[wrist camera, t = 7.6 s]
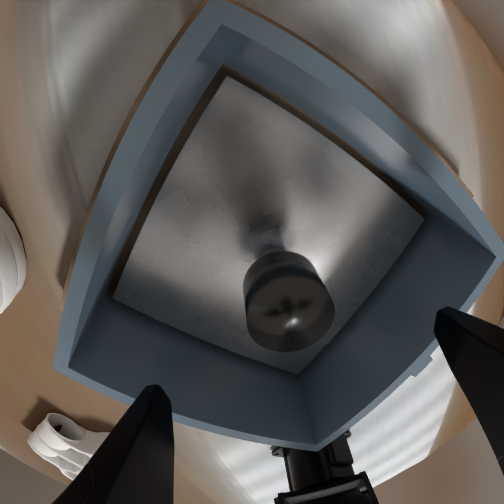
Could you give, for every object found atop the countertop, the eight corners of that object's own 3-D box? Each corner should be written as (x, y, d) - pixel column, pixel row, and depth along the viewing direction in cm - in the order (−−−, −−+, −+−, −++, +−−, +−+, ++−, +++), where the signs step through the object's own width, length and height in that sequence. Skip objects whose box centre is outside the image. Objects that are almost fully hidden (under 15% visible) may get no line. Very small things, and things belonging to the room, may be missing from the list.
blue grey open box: (321, 388, 21) (342, 453, 15) (93, 297, 16) (52, 368, 10) (456, 227, 16) (519, 270, 10) (218, 45, 11) (213, -5, 6)
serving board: (296, 392, 23) (299, 406, 21) (67, 298, 17) (59, 310, 16) (459, 189, 16) (473, 195, 15) (212, 1, 11) (210, -10, 10)
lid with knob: (296, 368, 19) (314, 434, 14) (115, 292, 16) (82, 359, 11) (419, 215, 15) (481, 257, 10) (227, 77, 12) (227, 49, 7)
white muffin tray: (60, 395, 22) (175, 456, 27) (27, 433, 26) (111, 479, 32) (50, 420, 19) (173, 480, 24) (20, 451, 23) (108, 496, 29)
